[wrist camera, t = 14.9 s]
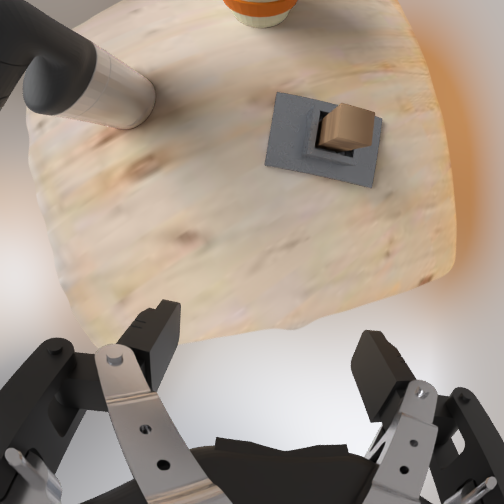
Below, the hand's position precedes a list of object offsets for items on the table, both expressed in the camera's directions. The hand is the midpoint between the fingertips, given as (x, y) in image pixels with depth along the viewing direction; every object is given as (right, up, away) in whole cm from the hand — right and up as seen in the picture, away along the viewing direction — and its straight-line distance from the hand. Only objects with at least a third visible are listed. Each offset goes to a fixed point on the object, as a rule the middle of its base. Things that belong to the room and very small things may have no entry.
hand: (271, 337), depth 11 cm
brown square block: (+10, +19, +23) cm, 31 cm away
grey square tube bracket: (+10, +20, +25) cm, 33 cm away
